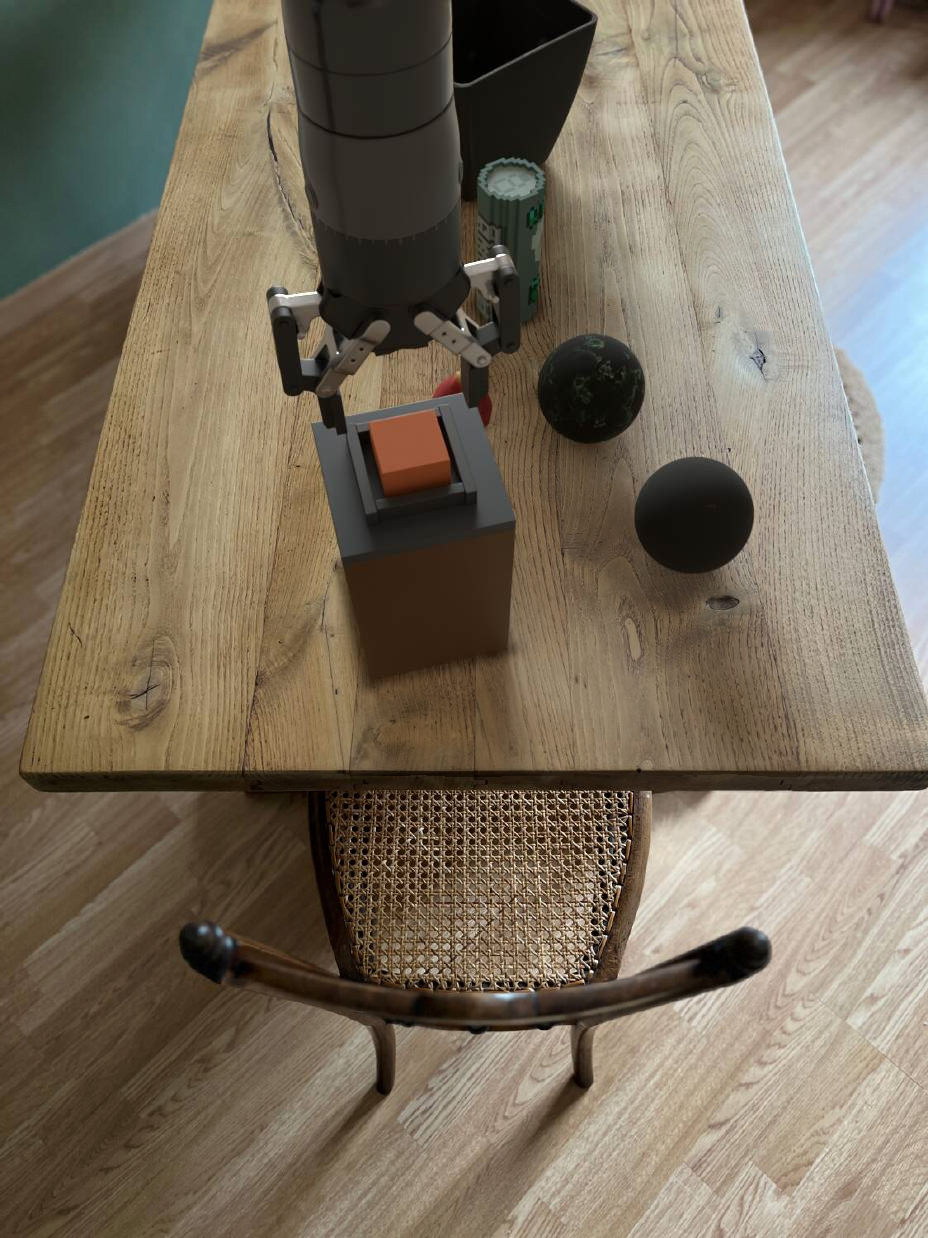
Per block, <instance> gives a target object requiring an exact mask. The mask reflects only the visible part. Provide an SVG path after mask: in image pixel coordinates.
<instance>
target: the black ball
mask: <svg viewBox="0 0 928 1238" xmlns="http://www.w3.org/2000/svg"><path fill="white" fill-rule="evenodd" d="M752 496H753V495H752V494H751V491H750V489H749V487H748V485H747V484H746V482H745V481H744V479H743V478H742V476H741V475H739V473H738V472H736V470H734V469H733V468H732V467H730V466H729V465H728V464H726V463H724V462H722V461H719V460H717V459H713V458H711V457H705V456H687V457H681V458H678V459H674V460H671V461H669V462H668V463H665V464H664V465H662V466H660V467H659V468H658V469H656V470H655V471H654V472H653V473H652V474H651V475H650V476H649V477H648V478H647V480H646V481H645V482H644V483H643V485H642V487H641V488H640V490H639V492H638V494H637V496H636V497H637V498H636V500H635V504H634V510H633V523H634V529H635V534H636V536H637V539H638V541H639V543H640V546H641V547H642V548H643V550H644V552H645V553H646V554H647V555H648V556H649V557H650V558H651V559H652V560H653V561H654V562H655V563H657V564H658V565H660V566H661V567H663V568H665V569H668V570H669V571H672V572H676V573H678V574H679V573H680V574H685V575H700V574H706V573H710V572H714V571H715V570H718V569H720V568H722V567H724V566H726V565H727V564H729V563H730V562H731V561H733V560H734V559H735V558H736V557H737V556H738V555H739V554H740V553H741V552H742V550H743V549H744V548H745V546H746V544H747V542H748V541H749V539H750V536H751V534H752V531H753V528H754V522H755V506H754V500H753V497H752Z"/></svg>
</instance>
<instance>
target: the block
mask: <svg viewBox="0 0 928 1238" xmlns="http://www.w3.org/2000/svg"><path fill="white" fill-rule="evenodd" d="M368 425H369V432H370V438H371V445H372V451H373V455H374V459H375V462H376V466H377V470H378V474H379V477H380V481H381V485H382V489H383V492H384V496H385V499H386V498H391V497H396V496H400V495H405V494H410V493H415V492H420V491H424V490H429V489H434V488H439V487H443V486H448V485H451V473H450V458H449V455H448V452H447V449H446V446H445V443H444V439H443V436H442V433H441V430H440V427H439V424H438V421H437V417H436V414H435V411H434V410H428V411H423V412H419V413H414V414H409V415H404V416H399V417H394V418H389V419H384V420H379V421H374V422H369V424H368Z"/></svg>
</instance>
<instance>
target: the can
mask: <svg viewBox="0 0 928 1238" xmlns="http://www.w3.org/2000/svg"><path fill="white" fill-rule="evenodd" d="M546 188H547V179H546V173H545V172H544V171H543V170H542V169H541V168H540V167H539V166H537V165H536V164H535V163H534V162H532V163H529V162H528V161H527V160H526V159H524V160H520V159H519V158H518V159H514V158H513V157H512V158H510V159H507V160H505V159H504V158H502V159H499V160H497V161H494V162H491V163H489V164H486V165H485V168H484V169H482V170H480V174H479V177H478V178H477V200H476V262H480V261H484V260H488V259H487V255H488V252H489V250H490V249H491V248H493V247H494V246H497V245H503V246H505V247H506V248H507V249H508V252H509V254H510V257H511V259H512V262H513V264H514V266H515V269H516V271H517V274H518V276H519V279H520V319H521V324H523V323H525V322H528V321H530V320H531V317H532V316H533V315H535V314H536V313H535V311H536V310H537V309H536V308H537V307H538V306H537V305H538V294H539V293H538V291H539V281H540V266H541V257H542V255H541V254H542V241H543V230H544V229H543V228H544V216H545V215H544V214H545V201H546V191H547V190H546ZM476 305H477V312H478V313H479V314H480V315H481V316H482V317H483V318H484V320H485V321H486V322H488V323H489V322H491V312H490V300H486V299H485V298H484V297H483V296H482V293H481V291H480V290H478V289H476Z"/></svg>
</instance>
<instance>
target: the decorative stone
mask: <svg viewBox="0 0 928 1238" xmlns="http://www.w3.org/2000/svg"><path fill="white" fill-rule="evenodd" d="M645 396H646V378H645V373H644V369H643V367H642V364H641V362H640V360H639V359H638V357H637V356H636V354H635V353H634V352H633V351H632V349H631V348H630V347H629V346H628V345H627V344H625V343H624V342H623V341H621V340H620V339H617V338H615V337H613V336H611V335H607V334H603V333H595V332H594V333H590V332H589V333H584V334H579V335H576V336H573V337H570V338H569V339H567V340H564V341H563V342H562V343H560V344H559V345H557V346H556V347H555V348H554V349H553V350H552V351H551V352H550V353H549V354H548V356H547V357H546V358H545V360H544V362H543V363H542V366H541V368H540V370H539V373H538V377H537V383H536V397H537V403H538V407H539V410H540V411H541V414H542V416H543V418H544V419H545V421H546V423H547V425H549V427H550V428H551V429H552V430H553V431H554V432H556V433H557V434H558V435H560V436H561V437H563V438H565V439H567V440H568V441H571V442H574V443H577V444H578V443H579V444H584V445H593V444H594V445H595V444H601V443H604V442H607V441H610V440H613V439H614V438H615V439H616V437H619V435H621V434H623V433H624V432H625V431H626V430H627V429H629V428H630V427H631V425H632V424H633V423H634V422H635V420H636V418H637V417H638V415H639V414H640V412H641V410H642V407H643V405H644V400H645Z"/></svg>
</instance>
